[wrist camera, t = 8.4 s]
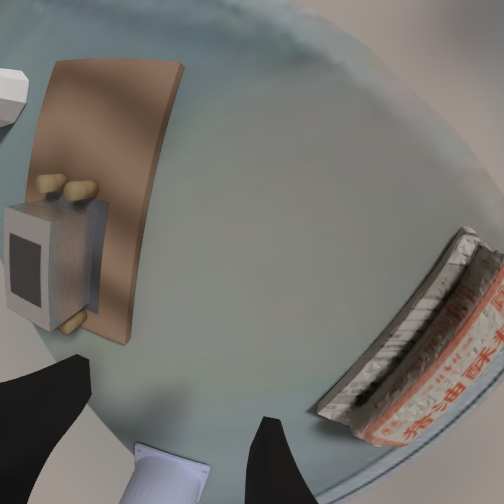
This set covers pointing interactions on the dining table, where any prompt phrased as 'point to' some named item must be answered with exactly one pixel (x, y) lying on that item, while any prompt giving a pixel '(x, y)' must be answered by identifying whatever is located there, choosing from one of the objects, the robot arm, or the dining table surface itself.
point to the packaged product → (426, 349)
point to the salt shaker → (12, 95)
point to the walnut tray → (105, 168)
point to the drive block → (48, 260)
